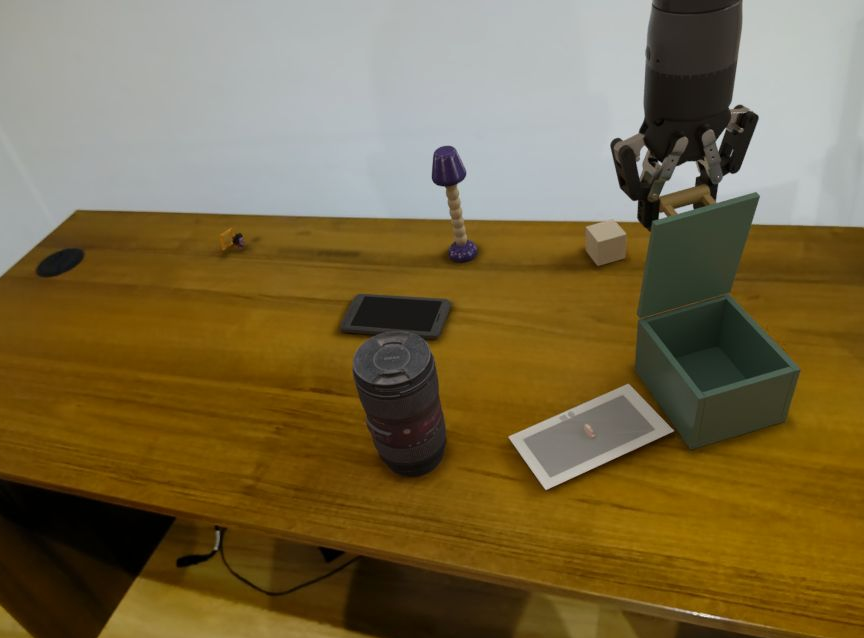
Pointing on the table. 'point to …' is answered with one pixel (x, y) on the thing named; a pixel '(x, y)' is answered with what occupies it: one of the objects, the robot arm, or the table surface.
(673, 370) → the chest
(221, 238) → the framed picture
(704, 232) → the lid
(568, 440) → the touchpad
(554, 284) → the table surface
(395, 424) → the camera lens
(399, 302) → the cell phone
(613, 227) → the block
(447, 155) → the toy lamp
